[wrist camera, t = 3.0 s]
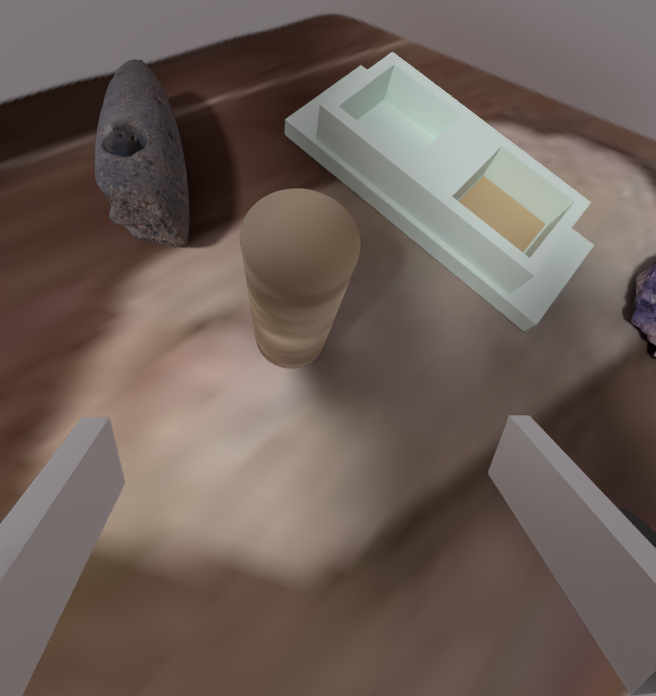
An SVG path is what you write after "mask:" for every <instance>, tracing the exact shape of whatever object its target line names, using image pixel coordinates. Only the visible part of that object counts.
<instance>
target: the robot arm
mask: <svg viewBox="0 0 656 696" xmlns="http://www.w3.org/2000/svg"><path fill="white" fill-rule="evenodd" d="M488 474H489V476H490V477H491V479H492V480H493V482H494V484H495V485H496V487H497V488H498V490H499V491H500V493H501V494H502V496H503V498H504V499H505V501H506V502H507V504H508V505H509V507H510V508H511V510H512V512H513V513H514V515H515V516H516V518H517V519H518V521H519V522H520V524H521V525H522V527H523V529H524V530H525V532H526V533H527V535H528V536H529V538H530V539H531V541H532V543H533V544H534V546H535V547H536V549H537V550H538V552H539V553H540V555H541V557H542V558H543V560H544V561H545V563H546V564H547V566H548V567H549V569H550V570H551V572H552V574H553V575H554V577H555V578H556V580H557V581H558V583H559V584H560V586H561V588H562V589H563V591H564V592H565V594H566V595H567V597H568V598H569V600H570V602H571V603H572V605H573V606H574V608H575V609H576V611H577V612H578V614H579V615H580V617H581V619H582V620H583V622H584V623H585V625H586V626H587V628H588V629H589V631H590V633H591V634H592V636H593V637H594V639H595V640H596V642H597V643H598V645H599V646H600V648H601V650H602V651H603V653H604V654H605V656H606V657H607V659H608V660H609V662H610V664H611V665H612V667H613V668H614V670H615V671H616V673H617V674H618V676H619V678H620V679H621V681H622V682H623V684H624V685H625V687H626V688H627V690H628V691H629V693H630V695H631V696H632V695H641V694H649V693H656V533H655V532H654V531H653V530H652V529H651V528H650V527H649V526H648V525H647V524H646V523H644V522H643V521H642V520H640V519H639V518H637V517H636V516H634V515H633V514H632V513H630V512H629V511H627V510H626V509H618V508H617V507H616V506H615V505H614V504H613V503H612V502H611V501H610V500H609V499H608V498H607V497H606V496H605V495H604V494H603V492H602V491H601V490H600V489H599V488H598V487H597V486H596V485H595V484H594V483H593V482H592V481H591V480H590V479H589V478H588V477H587V476H586V475H585V474H584V472H583V471H582V470H581V469H580V468H579V467H578V466H577V465H576V464H575V463H574V462H573V461H572V460H571V459H570V458H569V457H568V456H567V455H566V453H565V452H564V451H563V450H562V449H561V448H560V447H559V446H558V445H557V444H556V443H555V442H554V441H553V440H552V439H551V438H550V437H549V436H548V434H547V433H546V432H545V431H544V430H543V429H542V428H541V427H540V426H539V425H538V424H537V423H536V422H535V421H534V420H533V419H532V418H531V417H530V416H529V415H509V417H508V420H507V423H506V425H505V428H504V431H503V434H502V436H501V439H500V442H499V444H498V447H497V450H496V452H495V455H494V458H493V460H492V463H491V466H490V468H489V471H488ZM124 484H125V480H124V476H123V472H122V467H121V463H120V459H119V455H118V451H117V446H116V442H115V438H114V434H113V429H112V425H111V421H110V417H82V418H81V420H80V421H79V422H78V424H77V425H76V426H75V428H74V429H73V430H72V431H71V433H70V434H69V435H68V437H67V438H66V439H65V441H64V442H63V443H62V445H61V446H60V447H59V448H58V450H57V451H56V452H55V454H54V455H53V456H52V458H51V459H50V460H49V461H48V463H47V464H46V465H45V467H44V468H43V469H42V471H41V472H40V473H39V474H38V476H37V477H36V478H35V480H34V481H33V482H32V484H31V485H30V486H29V487H28V489H27V490H26V491H25V493H24V494H23V495H22V497H21V498H20V499H19V500H18V502H17V503H16V504H15V506H14V507H13V508H12V510H11V511H10V512H9V514H8V515H7V516H6V517H5V519H4V520H3V521H2V523H1V524H0V696H22V695H23V693H24V690H25V688H26V686H27V684H28V682H29V680H30V678H31V676H32V674H33V672H34V670H35V668H36V666H37V664H38V662H39V659H40V657H41V655H42V653H43V651H44V649H45V647H46V645H47V643H48V641H49V639H50V637H51V635H52V633H53V631H54V628H55V626H56V624H57V622H58V620H59V618H60V616H61V614H62V612H63V610H64V608H65V606H66V604H67V602H68V600H69V597H70V595H71V593H72V591H73V589H74V587H75V585H76V583H77V581H78V579H79V577H80V575H81V573H82V571H83V569H84V566H85V564H86V562H87V560H88V558H89V556H90V554H91V552H92V550H93V548H94V546H95V544H96V542H97V540H98V538H99V535H100V533H101V531H102V529H103V527H104V525H105V523H106V521H107V519H108V517H109V515H110V513H111V511H112V509H113V507H114V504H115V502H116V500H117V498H118V496H119V494H120V492H121V490H122V488H123V486H124Z"/></svg>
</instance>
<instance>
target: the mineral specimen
mask: <svg viewBox="0 0 656 696" xmlns="http://www.w3.org/2000/svg"><path fill="white" fill-rule="evenodd" d="M636 283H637V286H636V294H637V295H636V299H635V301H634V303H635V305H636V308H635V313H634V315H633V317H632V321H631V323H632V324H634V325H636V326H638V327H639V328H640V329H641V331H642V332H643V333H645V334H647V338H648V340H649V342H650V343H652V344H655V345H656V262H655V263H653V264H651V266H650V267H649V268H647V269H646V270H645V271H643V272H642V273H640V274H639V275H638V276H637V279H636ZM654 356H655V357H656V352H655V354H654Z"/></svg>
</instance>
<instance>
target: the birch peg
mask: <svg viewBox="0 0 656 696" xmlns="http://www.w3.org/2000/svg"><path fill="white" fill-rule="evenodd" d="M240 244H241V250H242V256H243V262H244V268H245V274H246V280H247V286H248V293H249V299H250V305H251V311H252V317H253V323H254V329H255V335H256V341H257V345H258V348H259V350H260V351H261V353H262V354H263V356H264V357H265V358H266V359H267V360H269V361H270V362H271V363H273V364H275V365H277V366H280V367H283V368H299V367H303V366H306V365H308V364H310V363H311V362H313V361H314V360H315V359H316V358H317V357H318V356H319V355H320V353H321V351H322V350H323V347H324V345H325V342H326V340H327V337H328V335H329V332H330V330H331V327H332V325H333V322H334V320H335V317H336V315H337V312H338V310H339V307H340V305H341V302H342V300H343V297H344V294H345V292H346V289H347V287H348V284H349V282H350V279H351V277H352V274H353V272H354V269H355V267H356V264H357V262H358V259H359V256H360V250H361V238H360V233H359V230H358V227H357V225H356V222H355V220H354V219H353V217H352V216H351V214H350V213H349V212H348V211H347V210H346V209H345V208H344V207H343V206H342V205H341V204H340V203H339V202H337V201H336V200H334V199H333V198H331V197H329V196H327V195H325V194H323V193H320V192H317V191H313V190H308V189H285V190H280V191H277V192H274V193H271V194H269V195H267V196H265V197H263V198H262V199H261V200H259V201H258V202H257V203H256V204H254V205H253V206H252V208H251V209H250V210H249V211H248V213H247V215H246V216H245V218H244V221H243V223H242V227H241V232H240Z"/></svg>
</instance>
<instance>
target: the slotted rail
mask: <svg viewBox="0 0 656 696" xmlns="http://www.w3.org/2000/svg"><path fill="white" fill-rule="evenodd" d="M285 135H286V136H287V137H288V138H289V139H290V140H292V141H293V142H294V143H295V144H297V145H298V146H299V147H300V148H301V149H303V150H304V151H305V152H306V153H307V154H309V155H310V156H311V157H312V158H314V159H315V160H316V161H317V162H318V163H320V164H321V165H322V166H323V167H325V168H326V169H327V170H328V171H329V172H331V173H332V174H333V175H334V176H335V177H337V178H338V179H339V180H340V181H342V182H343V183H344V184H345V185H346V186H348V187H349V188H350V189H351V190H352V191H354V192H355V193H356V194H357V195H359V196H360V197H361V198H362V199H363V200H365V201H366V202H367V203H368V204H369V205H371V206H372V207H373V208H374V209H376V210H377V211H378V212H379V213H380V214H382V215H383V216H384V217H385V218H386V219H388V220H389V221H390V222H391V223H393V224H394V225H395V226H396V227H397V228H399V229H400V230H401V231H402V232H403V233H405V234H406V235H407V236H408V237H410V238H411V239H412V240H413V241H414V242H416V243H417V244H418V245H419V246H420V247H422V248H423V249H424V250H425V251H427V252H428V253H429V254H430V255H431V256H433V257H434V258H435V259H436V260H437V261H439V262H440V263H441V264H442V265H444V266H445V267H446V268H447V269H448V270H450V271H451V272H452V273H453V274H454V275H456V276H457V277H458V278H459V279H461V280H462V281H463V282H464V283H465V284H467V285H468V286H469V287H470V288H471V289H473V290H474V291H475V292H476V293H478V294H479V295H480V296H481V297H482V298H484V299H485V300H486V301H487V302H488V303H490V304H491V305H492V306H493V307H495V308H496V309H497V310H498V311H499V312H501V313H502V314H503V315H504V316H505V317H507V318H508V319H509V320H510V321H512V322H513V323H514V324H515V325H516V326H518V327H519V328H520V329H521V330H522V331H524V332H525V331H526V330H528V329H530V328H532V327H534V326H536V325H537V324H538V322H539V321H540V320H541V318H542V317H543V316H544V314H545V313H546V311H547V310H548V309H549V307H550V306H551V304H552V303H553V302H554V300H555V299H556V298H557V296H558V295H559V293H560V292H561V291H562V289H563V288H564V286H565V285H566V284H567V282H568V281H569V280H570V278H571V277H572V275H573V274H574V273H575V271H576V270H577V268H578V267H579V266H580V264H581V263H582V262H583V260H584V259H585V257H586V256H587V255H588V253H589V252H590V250H591V249H592V248H593V246H594V245H593V244H592V243H591V242H589V241H588V240H587V239H585V238H584V237H583V236H582V235H580V234H579V233H578V232H576V231H575V230H574V229H573V228H572V227H573V225H574V224H575V223H576V221H577V220H578V219H579V218H580V216H581V215H582V214H583V212H584V211H585V210H586V208H587V207H588V206H589V205H590V203H591V202H590V201H589V200H587V199H586V198H585V197H583V196H582V195H581V194H579V193H578V192H577V191H576V190H574V189H573V188H572V187H570V186H569V185H568V184H566V183H565V182H564V181H562V180H561V179H560V178H558V177H557V176H556V175H554V174H553V173H552V172H550V171H549V170H548V169H547V168H545V167H544V166H543V165H541V164H540V163H539V162H537V161H536V160H535V159H533V158H532V157H531V156H529V155H528V154H527V153H525V152H524V151H523V150H521V149H520V148H519V147H517V146H516V145H515V144H514V143H512V142H511V141H510V140H508V139H507V138H506V137H504V136H503V135H502V134H500V133H499V132H498V131H496V130H495V129H494V128H492V127H491V126H490V125H488V124H487V123H486V122H485V121H483V120H482V119H481V118H479V117H478V116H477V115H475V114H474V113H473V112H471V111H470V110H469V109H467V108H466V107H465V106H463V105H462V104H461V103H459V102H458V101H457V100H456V99H454V98H453V97H452V96H450V95H449V94H448V93H446V92H445V91H444V90H442V89H441V88H440V87H438V86H437V85H436V84H434V83H433V82H432V81H430V80H429V79H428V78H427V77H425V76H424V75H423V74H421V73H420V72H419V71H417V70H416V69H415V68H413V67H412V66H411V65H409V64H408V63H407V62H405V61H404V60H403V59H401V58H400V57H399V56H397V55H396V54H395V53H394V52H391V53H390V54H389V55H387V56H386V57H385V58H383V59H382V60H380V61H379V62H378V63H376V64H375V65H374V66H372V67H371V68H369V69H368V70H367V69H365V68H364V67H363V66H362V65H361V66H359V67H358V68H356V69H355V70H354V71H352V72H351V73H349V74H348V75H347V76H345V77H344V78H342V79H341V80H340V81H338V82H337V83H335V84H334V85H333V86H331V87H330V88H328V89H327V90H326V91H324V92H323V93H321V94H320V95H319V96H317V97H316V98H314V99H313V100H312V101H310V102H309V103H307V104H306V105H305V106H303V107H302V108H300V109H299V110H298V111H296V112H295V113H293V114H292V115H291V116H289V117H288V118H286V119H285Z"/></svg>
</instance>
